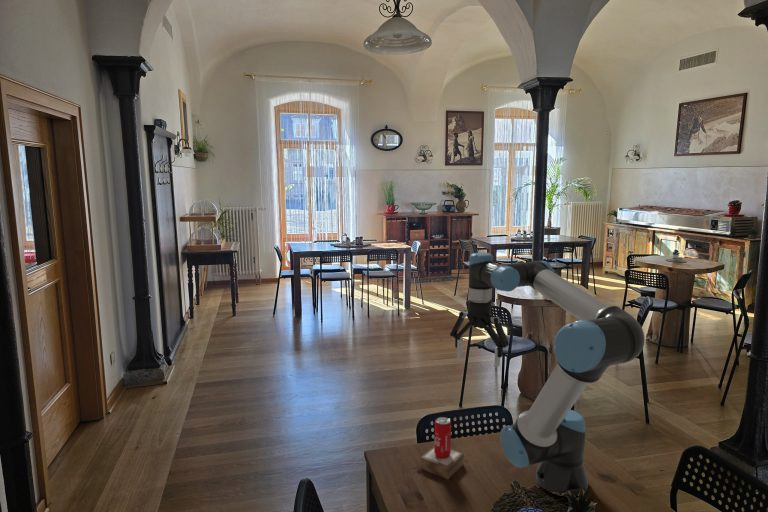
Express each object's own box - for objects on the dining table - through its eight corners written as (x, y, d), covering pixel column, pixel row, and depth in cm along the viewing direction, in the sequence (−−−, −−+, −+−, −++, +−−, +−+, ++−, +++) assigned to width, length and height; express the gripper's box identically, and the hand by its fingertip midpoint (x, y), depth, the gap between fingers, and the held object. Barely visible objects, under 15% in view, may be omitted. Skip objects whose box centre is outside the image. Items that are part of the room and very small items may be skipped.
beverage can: (449, 460, 162) (450, 425, 160) (433, 458, 163) (434, 423, 161) (450, 451, 167) (451, 417, 165) (435, 450, 168) (435, 416, 166)
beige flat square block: (463, 464, 167) (463, 453, 166) (448, 479, 159) (448, 467, 158) (436, 454, 173) (436, 443, 172) (420, 468, 165) (420, 456, 164)
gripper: (520, 303, 163) (518, 366, 167) (451, 292, 178) (450, 350, 181) (511, 308, 157) (508, 373, 161) (440, 296, 172) (439, 356, 175)
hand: (478, 361), depth 171 cm, fingers open, 13 cm apart
